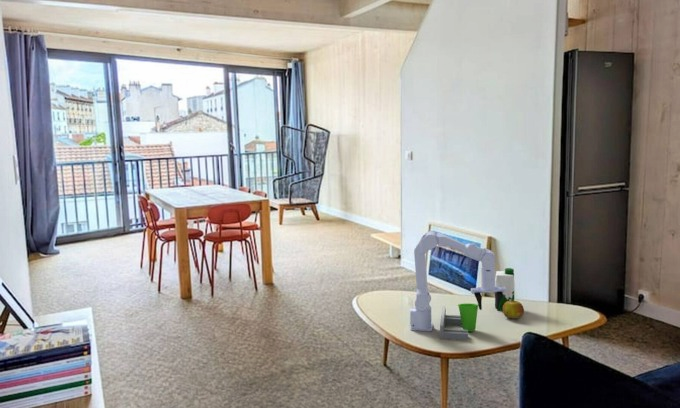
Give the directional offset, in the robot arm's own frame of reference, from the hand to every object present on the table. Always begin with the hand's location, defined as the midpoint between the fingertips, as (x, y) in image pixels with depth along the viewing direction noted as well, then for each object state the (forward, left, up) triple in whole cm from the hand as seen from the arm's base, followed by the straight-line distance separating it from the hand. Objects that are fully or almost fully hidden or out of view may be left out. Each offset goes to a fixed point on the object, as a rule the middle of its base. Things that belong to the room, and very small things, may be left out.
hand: (488, 308), depth 214 cm
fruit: (+12, +19, -11) cm, 25 cm away
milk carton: (+9, +31, -11) cm, 34 cm away
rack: (-14, 0, -11) cm, 18 cm away
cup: (-8, 0, -10) cm, 13 cm away
